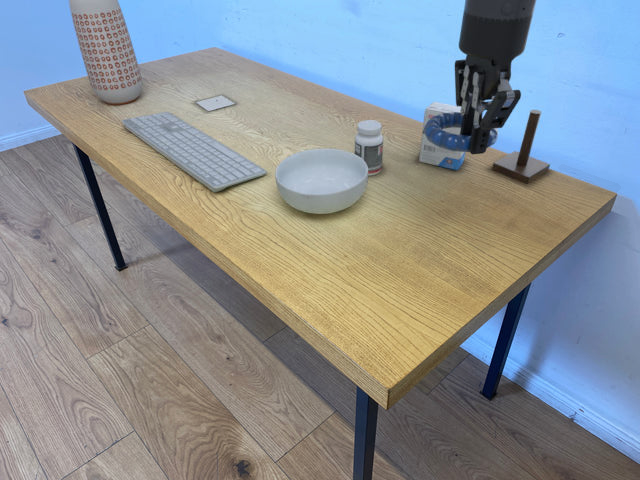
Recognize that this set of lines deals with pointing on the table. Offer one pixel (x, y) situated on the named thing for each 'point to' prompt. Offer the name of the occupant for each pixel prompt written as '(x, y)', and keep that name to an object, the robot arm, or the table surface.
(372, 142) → the pill bottle
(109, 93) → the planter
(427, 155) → the ink box
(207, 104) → the coaster
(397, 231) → the table surface
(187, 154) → the keyboard
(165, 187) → the table surface
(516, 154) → the stand
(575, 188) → the table surface
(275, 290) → the table surface
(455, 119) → the blue teething ring
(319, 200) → the cereal bowl
